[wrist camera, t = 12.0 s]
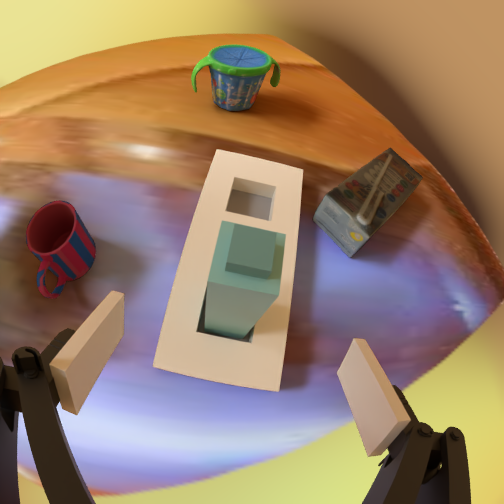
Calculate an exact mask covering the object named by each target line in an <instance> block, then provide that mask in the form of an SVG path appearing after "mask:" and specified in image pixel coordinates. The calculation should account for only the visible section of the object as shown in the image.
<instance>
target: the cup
mask: <svg viewBox="0 0 504 504" xmlns="http://www.w3.org/2000/svg"><path fill="white" fill-rule="evenodd" d="M26 243H27V246H28V248H29V249H30V251H31V252H32V253H33V254H34V255H35V256H36V257H37V258H38V259H39V260H40V261H41V264H40V267H39V270H38V273H37V285H38V289H39V291H40V293H41V294H42V295H43V296H44V297H47V298H50V299H53V298H57V297H58V296H59V295H60V294H61V292H62V290H63V288H64V285H65V283H66V281H71V280H75V279H78V278H80V277H81V276H83V275H84V274H85V273H86V272H87V271H88V270H89V269H90V267H91V266H92V264H93V262H94V259H95V254H96V247H95V243H94V241H93V239H92V238H91V236H90V234H89V233H88V231H87V229H86V227H85V226H84V224H83V222H82V221H81V219H80V217H79V215H78V214H77V212H76V210H75V208H74V207H73V206H72V205H71V204H70V203H68V202H65V201H54V202H50V203H48V204H46V205H44V206H43V207H41V208H40V209H39V210H38V211H37V212H36V213H35V214H34V216H33V217H32V218H31V220H30V222H29V224H28V227H27V231H26ZM47 268H48V269H49V270H50V271H51V272H52V273H53V274H54V275H55V276H57V277H58V282H57V285H56V288H55V289H54V291H53V292H52V293H51V294H50V293H49V292H48V290H47V289H46V286H45V274H46V270H47Z"/></svg>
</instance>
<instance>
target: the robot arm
mask: <svg viewBox="0 0 504 504" xmlns="http://www.w3.org/2000/svg"><path fill="white" fill-rule="evenodd" d="M123 335H124V293H120V292H116V291H113V290H112V291H111V292H110V293H109V294H108V295H107V297H106V298H105V299H104V300H103V301H102V302H101V303H100V304H99V305H98V307H97V308H96V309H95V310H94V311H93V312H92V313H91V315H90V316H89V317H88V318H87V319H86V320H85V321H84V323H83V324H82V325H81V326H80V327H79V328H78V330H77V331H74V330H71V329H69V328H67V329H66V330H64V331H62V332H60V333H59V334H58V335H57V336H56V337H55V338H54V340H53V341H52V342H51V343H50V345H48V346H47V347H46V349H45V350H44V351H43V352H42V353H41V354H40V353H39V351H37V350H36V349H35V348H32V347H21V348H18V349H17V350H15V352H14V353H13V354H12V361H13V365H14V367H10V366H6V365H4V364H3V361H2V359H1V358H0V504H20V498H19V488H18V472H17V432H18V416H19V412H22V413H23V418H24V423H25V427H26V432H27V436H28V440H29V444H30V447H31V451H32V455H33V458H34V461H35V465H36V468H37V471H38V474H39V477H40V480H41V482H42V485H43V488H44V490H45V493H46V495H47V498H48V500H49V503H50V504H96V503H95V502H94V500H93V498H92V496H91V494H90V492H89V490H88V488H87V486H86V484H85V482H84V480H83V477H82V475H81V473H80V471H79V469H78V466H77V464H76V462H75V459H74V457H73V454H72V452H71V449H70V447H69V444H68V441H67V439H66V436H65V433H64V430H63V427H62V424H61V421H60V418H59V415H58V411H57V408H56V406H57V405H58V403H59V401H60V403H61V406H62V409H64V410H66V411H68V412H70V413H73V414H75V415H78V413H79V411H80V409H81V407H82V405H83V403H84V402H85V400H86V398H87V396H88V394H89V393H90V391H91V389H92V387H93V385H94V384H95V382H96V380H97V378H98V377H99V375H100V373H101V371H102V370H103V368H104V366H105V365H106V363H107V361H108V360H109V358H110V356H111V355H112V353H113V351H114V350H115V348H116V346H117V345H118V343H119V341H120V340H121V338H122V336H123ZM337 375H338V377H339V380H340V382H341V385H342V388H343V390H344V393H345V395H346V398H347V401H348V403H349V406H350V409H351V411H352V414H353V417H354V419H355V422H356V425H357V427H358V430H359V433H360V436H361V438H362V441H363V444H364V447H365V450H366V452H367V455H368V457H370V456H378V455H381V454H382V453H383V452H384V451H385V450H386V449H387V448H388V451H389V454H388V455H387V456H386V457H385V458H384V459H383V460H382V461H381V462H380V463H379V465H378V466H380V465H381V464H383V465H382V466H381V469H380V471H379V473H378V475H377V477H376V479H375V481H374V482H373V485H372V486H371V488H370V490H369V492H368V494H367V495H366V497H365V499H364V501H363V502H362V504H471V493H470V478H469V468H468V459H467V452H466V445H465V439H464V435H463V433H462V432H461V431H460V430H459V429H458V428H455V427H449V428H447V429H446V431H445V432H444V433H438V432H434V431H433V429H432V428H431V427H430V426H429V425H427V424H426V423H422V422H419V421H418V419H417V418H416V416H415V414H414V412H413V410H412V409H411V407H410V405H408V402H407V400H406V399H405V396H404V395H403V393H402V391H401V390H400V389H399V388H398V387H397V386H395V385H391V383H390V381H389V380H388V378H387V376H386V374H385V373H384V371H383V369H382V367H381V366H380V364H379V362H378V361H377V359H376V357H375V355H374V354H373V352H372V350H371V349H370V347H369V345H368V344H367V342H366V340H365V339H358V338H354V339H353V341H352V343H351V346H350V348H349V350H348V352H347V354H346V356H345V358H344V360H343V362H342V364H341V366H340V368H339V370H338V372H337ZM441 464H442V467H441V468H440V465H441Z"/></svg>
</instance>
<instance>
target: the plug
mask: <svg viewBox="0 0 504 504" xmlns="http://www.w3.org/2000/svg"><path fill="white" fill-rule="evenodd" d="M285 239H286V234H282V233H278V232H273V231H269V230H264V229H260V228H255V227H251V226H246V225H242V224H237V223H233V222H228V221H223V220H222V222H221V226H220V230H219V234H218V238H217V242H216V246H215V251H214V255H213V259H212V263H211V268H210V272H209V276H208V281H207V295H206V310H205V328H204V332H208V333H213V334H218V335H223V336H228V337H233V338H239V339H243V338H244V337H245V335H246V334H247V333H248V332H249V331H250V330H251V328H252V327H253V326H254V325H255V324H256V323H257V321H258V320H259V319H260V318H261V317H262V315H263V314H264V313H265V312H266V311H267V310H268V308H269V307H270V306H271V305H272V304H273V302H274V301H275V300H276V299H277V297H278V296H279V292H280V283H281V275H282V266H283V257H284V248H285Z"/></svg>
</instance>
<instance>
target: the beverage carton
mask: <svg viewBox="0 0 504 504" xmlns="http://www.w3.org/2000/svg"><path fill="white" fill-rule="evenodd" d="M421 180H422V176H421V175H420V174H419V173H417V172H416V171H415V170H414V169H413V168H412V167H411V166H410V165H409V164H408V163H407V162H406V161H405V160H404V159H402V158H401V157H400V156H399V155H398V154H397V153H396V152H395V151H393V150H392V149H391V148H389V149H388V150H386V151H384V152H383V153H382V154H380V155H379V156H377V157H376V158H374V159H373V160H372V161H370V162H369V163H368V164H366V165H365V166H363V167H362V168H361V169H359V170H358V171H357V172H355V173H354V174H353V175H351V176H350V177H348V178H347V179H346V180H345V181H343V182H342V183H341V184H339V185H338V187H335V188H333V190H331V191H330V192H328V193H327V194H326V195H325V196H324V198H323V200H322V202H321V203H320V205H319V206H318V208H317V210H316V211H315V215H314V217H313V221H314V222H315V223H316V224H317V225H318V226H319V227H320V228H321V229H322V230H323V231H324V232H325V233H326V234H327V235H328V236H329V237H330V238H331V239H332V240H333V241H334V242H335V243H336V244H337V245H338V246H339V247H340V248H341V249H342V251H343V252H344V253H345V254H346V255H347V256H348V257H350V258H351V257H352V256H353V255H354V254H355V253H356V252H357V251H358V250H360V249H361V248H362V246H363V245H364V244H365V243H366V242H367V241H368V240H369V238H370V237H371V236H372V235H373V234H374V233H375V232H376V231H377V230H378V229H379V228H380V227H381V226H382V225H383V224H384V223H385V222H386V221H387V220H388V219H389V218H390V217H391V216H392V215H393V214H394V213H395V212H396V210H397V209H398V208H399V207H400V206H401V205H402V204H403V203H404V202H405V201H406V199H407V198H408V197H409V196H410V195H411V194H412V192H413V191H414V190H415V189H416V187H417V186H418V185H419V183H420V181H421Z"/></svg>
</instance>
